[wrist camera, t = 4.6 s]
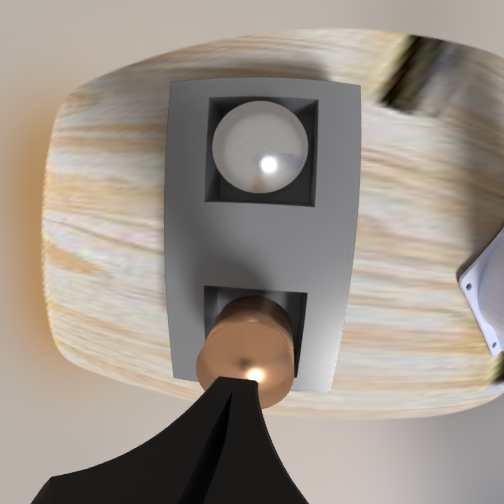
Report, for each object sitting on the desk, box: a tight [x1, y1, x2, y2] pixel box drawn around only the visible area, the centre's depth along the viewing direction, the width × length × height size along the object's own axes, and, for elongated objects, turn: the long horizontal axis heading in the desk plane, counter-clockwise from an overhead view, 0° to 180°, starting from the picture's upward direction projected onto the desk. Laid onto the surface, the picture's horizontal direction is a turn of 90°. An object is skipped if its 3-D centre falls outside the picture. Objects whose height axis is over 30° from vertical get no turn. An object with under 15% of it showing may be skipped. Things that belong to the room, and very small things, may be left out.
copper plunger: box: [196, 295, 294, 409], centre depth 13 cm, size 4×4×4 cm
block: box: [164, 77, 361, 392], centre depth 16 cm, size 16×9×4 cm, turn 178°
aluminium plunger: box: [212, 101, 308, 193], centre depth 14 cm, size 4×4×4 cm
